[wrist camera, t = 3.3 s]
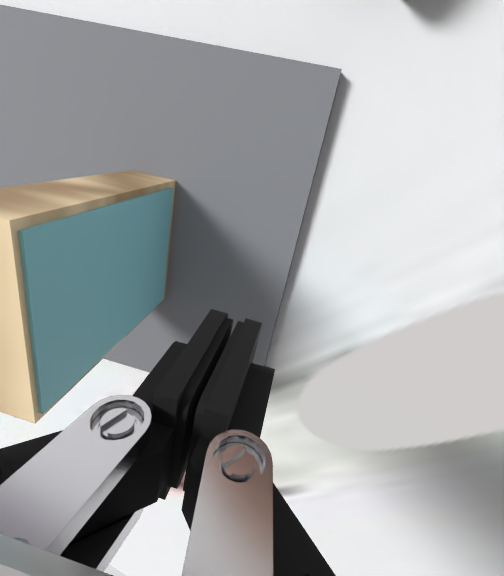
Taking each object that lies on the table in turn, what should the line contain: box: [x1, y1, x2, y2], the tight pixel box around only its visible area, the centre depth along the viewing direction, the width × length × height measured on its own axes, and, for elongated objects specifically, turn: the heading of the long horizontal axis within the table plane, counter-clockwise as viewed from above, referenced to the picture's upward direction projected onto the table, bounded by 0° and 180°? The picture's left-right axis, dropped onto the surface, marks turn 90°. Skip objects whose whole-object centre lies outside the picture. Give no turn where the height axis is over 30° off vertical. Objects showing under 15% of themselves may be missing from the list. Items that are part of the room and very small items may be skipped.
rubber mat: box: [0, 5, 341, 372], centre depth 19 cm, size 24×19×1 cm
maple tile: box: [0, 170, 176, 423], centre depth 14 cm, size 2×7×10 cm, turn 169°
